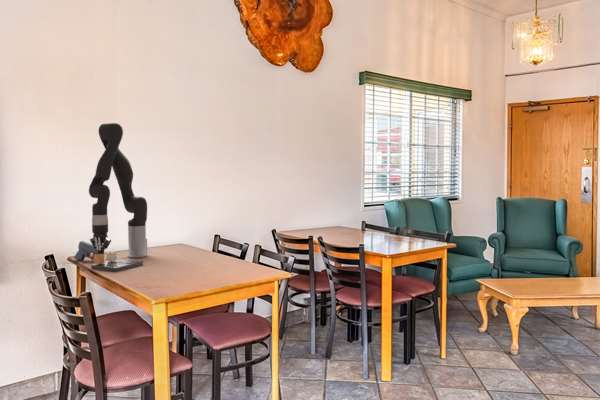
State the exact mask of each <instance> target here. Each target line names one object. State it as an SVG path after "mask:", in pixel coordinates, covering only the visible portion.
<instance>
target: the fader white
mask: <svg viewBox="0 0 600 400" xmlns="http://www.w3.org/2000/svg"><path fill="white" fill-rule="evenodd" d="M117 256H118V255H117V251H116V250H115V251H114V250H111V251H107V252H106V262H107V261H116V260H117V259H118V258H117Z"/></svg>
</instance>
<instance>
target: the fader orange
mask: <svg viewBox="0 0 600 400" xmlns="http://www.w3.org/2000/svg"><path fill="white" fill-rule="evenodd" d="M104 262H105V253H104V254H96V255H94V260H93V264H102V263H104Z"/></svg>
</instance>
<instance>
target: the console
mask: <svg viewBox="0 0 600 400" xmlns="http://www.w3.org/2000/svg"><path fill="white" fill-rule="evenodd" d="M141 266H144V261H143V260H135V259H126V258H117V260H116V261H107V260H106V261H104V263H102V264H94V263H92V264H91V265H90V268H91V270H98V271H104V272H113V273H117V272H118V273H119V272H122V271H127V270H130V269H133V268H137V267H141Z"/></svg>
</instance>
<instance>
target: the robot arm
mask: <svg viewBox="0 0 600 400" xmlns="http://www.w3.org/2000/svg"><path fill="white" fill-rule="evenodd" d="M98 136H99V138H100V140H101V143H102V145H103V147H104V149H105V150H104V151H103V153H102V154H101V156H100V158H99V159H98V160H97V161H98V162H97V165H96V168H95V174H94V177H92V180H91V182H90V184H89V186H88V194H89V196H90V198H94V199H97V200H96V202H94V203H93V204H92V210H91V211H92V215H91V216H92V217H91V228H92V229H91V232H92V234H93V235H92V238H89V241H90V244H92V245H93V247H94V248H95V249H97V250H98V254H104V255H105V250H107V249H108V247H109V245H110V244H111V242H112V240H111V239H109V236H108V232H109V218H108V217H109V216H108V204H109V201H110V196H111V190H110V187H109V186H108V185H107V184H104V183H105V182H107V181H109V180H110V178H111V174H112V171H113V173H114V176H115V179H116V181H117V183H118V184H117V185H118V188H119V190H120V194H121V197H122V203H123V205H124V209H125V210H126V211H127V213H130V214H133V217H132V218H130V219H129V220H128V221H127V234H128V235H127V236H128V238H127V239H128V258H143V257H146V256H148V238H147V237H146V236H147V234H146V229H147V228H146V223H147V220H148V203H147V199H146V198H145V197H144V196H135V194H134V191H133V188H132V186H133V180H134V172H133V167H132V165H131V161H130V160H129V159H128V157H126V156H125V154H124V153H123V152H122V150H120V148H119V147H120V144H121V141H122V140H123V136H124V130H123V127H122V125H121V124H120V123H115V122H111V123H110V122H109V123H103V124H101V125H99V126H98ZM104 249H105V250H104Z"/></svg>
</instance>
